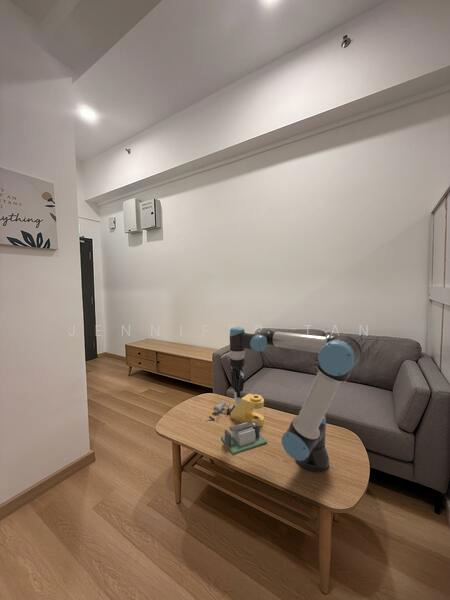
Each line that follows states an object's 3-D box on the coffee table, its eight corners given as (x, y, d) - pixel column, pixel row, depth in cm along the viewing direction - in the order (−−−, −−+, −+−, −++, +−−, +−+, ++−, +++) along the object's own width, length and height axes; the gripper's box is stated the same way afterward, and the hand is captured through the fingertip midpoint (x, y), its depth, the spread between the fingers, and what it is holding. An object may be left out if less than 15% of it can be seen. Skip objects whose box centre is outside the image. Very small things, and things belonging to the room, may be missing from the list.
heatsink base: (252, 428, 141) (252, 416, 140) (267, 443, 128) (267, 429, 128) (221, 438, 132) (221, 424, 132) (232, 454, 120) (232, 439, 119)
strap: (252, 423, 134) (252, 421, 134) (256, 427, 131) (256, 425, 131) (228, 428, 128) (228, 425, 128) (231, 432, 124) (232, 429, 124)
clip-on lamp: (221, 428, 146) (236, 409, 161) (220, 420, 145) (236, 401, 159) (205, 420, 153) (221, 403, 167) (204, 412, 151) (221, 395, 165)
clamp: (266, 421, 148) (266, 396, 147) (258, 429, 141) (259, 402, 140) (238, 411, 160) (238, 387, 159) (230, 417, 153) (230, 392, 152)
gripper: (250, 360, 121) (250, 406, 123) (237, 353, 133) (237, 396, 134) (236, 362, 118) (236, 410, 119) (225, 355, 130) (225, 399, 131)
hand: (237, 402), depth 127 cm, fingers closed
